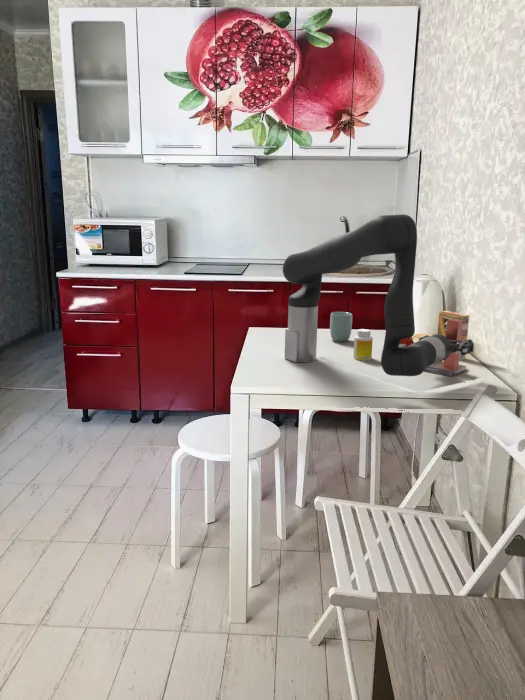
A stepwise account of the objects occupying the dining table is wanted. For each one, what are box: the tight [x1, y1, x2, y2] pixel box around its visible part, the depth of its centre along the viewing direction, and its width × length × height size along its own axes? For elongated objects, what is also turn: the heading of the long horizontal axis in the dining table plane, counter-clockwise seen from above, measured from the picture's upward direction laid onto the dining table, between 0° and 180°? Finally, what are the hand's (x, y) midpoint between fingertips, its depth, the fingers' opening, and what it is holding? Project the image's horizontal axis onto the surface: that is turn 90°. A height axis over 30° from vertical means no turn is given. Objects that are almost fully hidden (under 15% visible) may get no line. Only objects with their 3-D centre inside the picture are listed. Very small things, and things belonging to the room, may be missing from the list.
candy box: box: [437, 310, 470, 361], centre depth 185 cm, size 9×4×15 cm, turn 33°
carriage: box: [426, 318, 467, 375], centre depth 169 cm, size 10×8×15 cm
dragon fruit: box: [399, 336, 415, 348], centre depth 193 cm, size 8×8×12 cm
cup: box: [329, 311, 353, 343], centre depth 210 cm, size 8×8×10 cm
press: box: [399, 344, 469, 378], centre depth 174 cm, size 23×11×6 cm, turn 49°
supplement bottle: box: [353, 328, 374, 362], centre depth 182 cm, size 6×6×10 cm
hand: (455, 340), depth 169 cm, fingers open, 8 cm apart
